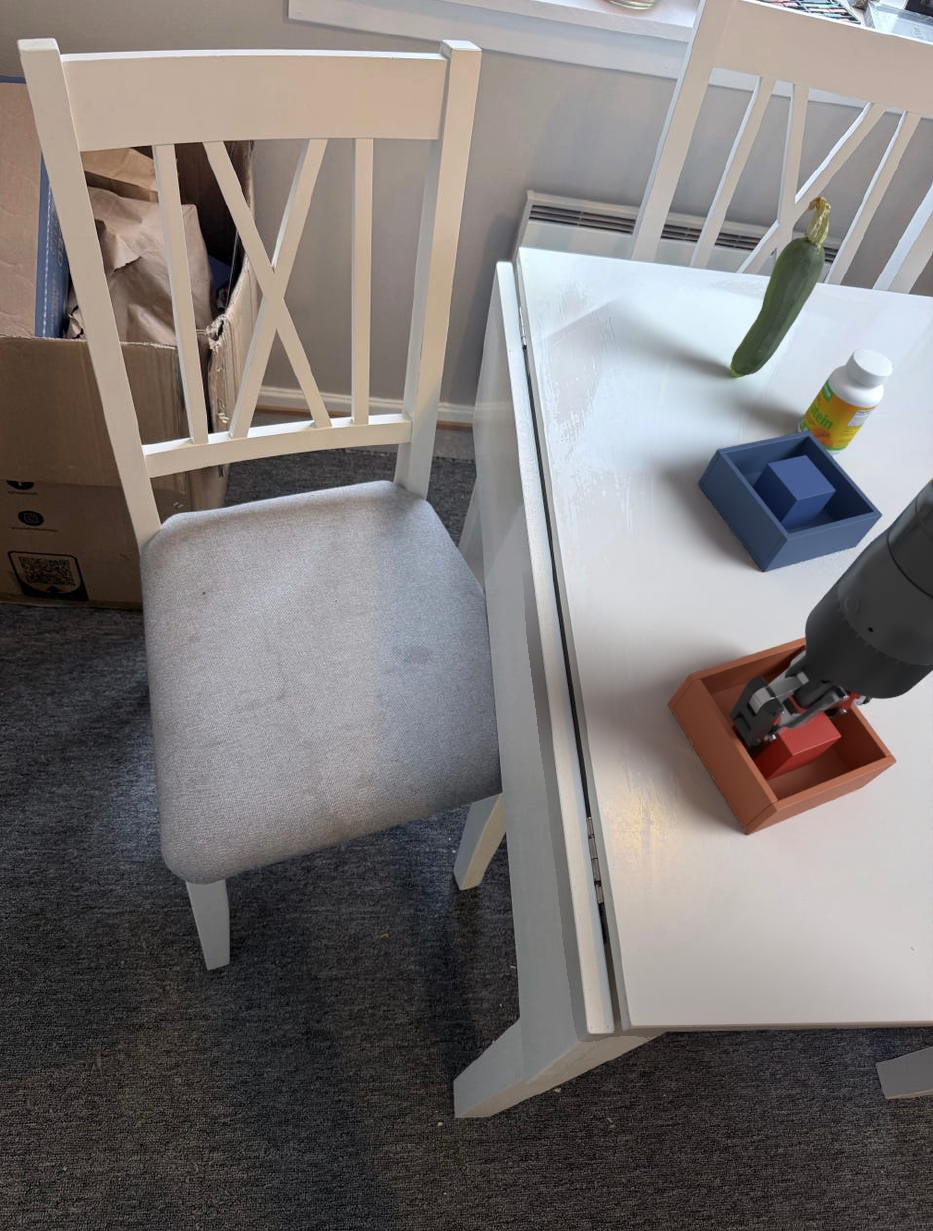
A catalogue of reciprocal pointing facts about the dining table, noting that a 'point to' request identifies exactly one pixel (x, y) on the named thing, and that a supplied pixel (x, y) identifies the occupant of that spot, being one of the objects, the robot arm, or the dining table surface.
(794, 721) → the robot arm
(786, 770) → the red block
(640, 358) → the dining table surface
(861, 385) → the supplement bottle
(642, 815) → the dining table surface
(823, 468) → the blue bin
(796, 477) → the blue block
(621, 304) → the dining table surface
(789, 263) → the vegetable
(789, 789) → the terracotta bin
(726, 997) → the dining table surface
